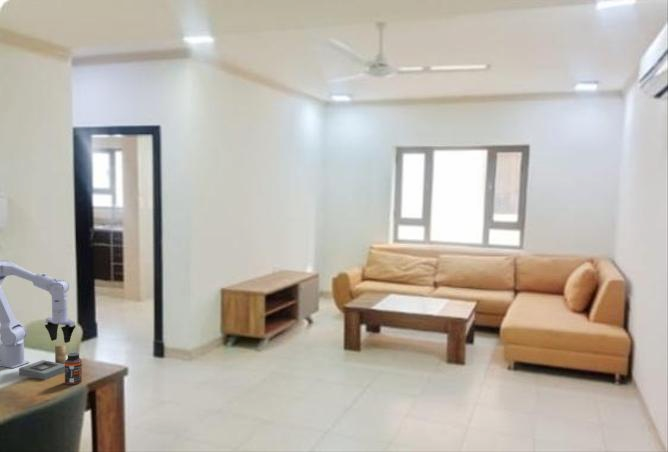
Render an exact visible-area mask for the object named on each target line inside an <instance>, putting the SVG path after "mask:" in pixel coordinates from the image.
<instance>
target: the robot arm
mask: <svg viewBox="0 0 668 452" xmlns="http://www.w3.org/2000/svg"><path fill="white" fill-rule="evenodd" d="M8 276H15V277H18V278H21V279H23V280H26V281H30V282H32V284H33V286H34V287H37V288H39V289H40V290H41V289H42V290H43V291H44V290H45V291H46V292H48V293H49V295H51V314H52V316H51V317H50V316H49V317H46V318H45V323H46V324H44V328H45V329H46V330H47V332H48V334H49V337H50V341H56V340H57V339H58V329H59V326H61V327H60V329H61V331H62V334H63V342H64V343H65V344H67V343H70V342H71V338H72V335H73V332H74V330H75V328H76V321H75V320H72V319H70V317H68V291H69V289H70V285H69V283H68V282H67V281H66V280H64V279H60V280H59V279H58V278H57V277H55V278H54V277H51V276H49V275H48V274H47V273H46V272H44V273H42V272H40V273H38V274H36V273H34V272H32V271H30V270H28V269H26V268H25V267H22V266H20V265H17V264H16V263H15V262H12V261H9V260H6V259H2V260H0V342H1V344H0V367H5V368H9V369H15V368H17V367H18V368H19V366H23V365H26V364H28V363H29V364H30V361H29V360H25V338H26V337H27V334H28V333H27V332H28V331H27V328H26V327H24V326H23V325H22V323H21V321H20V320H18V319H16V317H15V316H14V313H13V310H12V309H11V305H10V304H9V301H8V298H7V296H6V294H5V291H4V290H3V287H2V283H3V281H4V280H5V278H6V277H8Z"/></svg>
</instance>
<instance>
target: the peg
mask: <svg viewBox="0 0 668 452" xmlns="http://www.w3.org/2000/svg"><path fill="white" fill-rule="evenodd" d="M66 350H67V347H66V344H57V345H55V346H54V353H55V354H54V355H55V356H54V359H55V361H54V362H55V363H61V364H65V361H66V360H67V352H66Z"/></svg>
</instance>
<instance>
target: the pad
mask: <svg viewBox="0 0 668 452" xmlns="http://www.w3.org/2000/svg"><path fill="white" fill-rule="evenodd" d="M47 367H50V366H48V365H43V366H40V367H37V368H40V369H45V368H47Z"/></svg>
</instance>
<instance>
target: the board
mask: <svg viewBox="0 0 668 452" xmlns="http://www.w3.org/2000/svg"><path fill="white" fill-rule="evenodd" d="M43 365H48V366H50V367H47V368H45V369H40V368H37V367H40V366H43ZM63 373H64V374H65V364H61V363H55V361H50V360H43V359H41V360H39V361H36V362H33V363H29V364H28V365H25V366H22V367H18V374H19V376H25V377H30V378H33V379H39V380H45V381H47V380H48V379H51V378H53V377H56V376H59V375H61V374H63Z"/></svg>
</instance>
